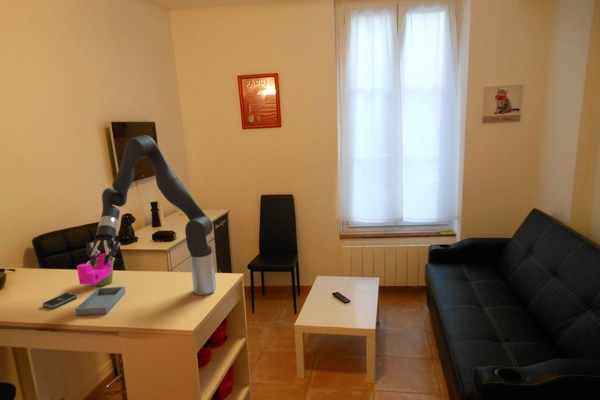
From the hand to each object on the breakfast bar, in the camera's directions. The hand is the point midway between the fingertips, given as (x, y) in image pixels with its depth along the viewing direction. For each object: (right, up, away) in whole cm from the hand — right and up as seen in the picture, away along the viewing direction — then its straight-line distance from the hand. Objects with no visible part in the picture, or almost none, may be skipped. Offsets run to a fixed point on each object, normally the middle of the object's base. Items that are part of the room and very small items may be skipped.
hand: (98, 264), depth 163 cm
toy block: (+1, -5, -1) cm, 5 cm away
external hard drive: (-19, -17, +5) cm, 26 cm away
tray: (+1, -17, +2) cm, 17 cm away
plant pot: (-9, -13, +23) cm, 28 cm away
